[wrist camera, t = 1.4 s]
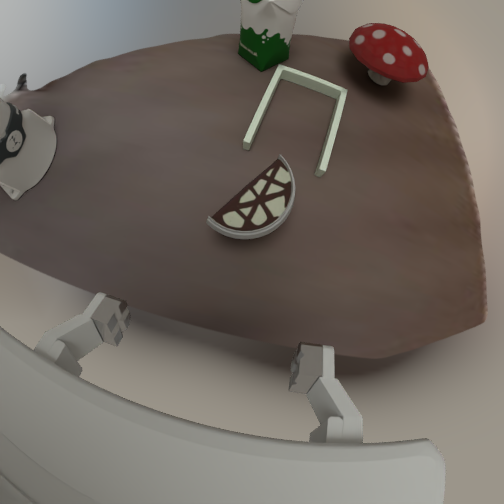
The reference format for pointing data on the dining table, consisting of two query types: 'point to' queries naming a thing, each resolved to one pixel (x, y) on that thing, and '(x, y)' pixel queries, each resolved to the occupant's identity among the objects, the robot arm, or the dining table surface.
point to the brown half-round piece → (258, 204)
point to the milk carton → (267, 31)
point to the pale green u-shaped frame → (312, 84)
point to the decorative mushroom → (388, 53)
